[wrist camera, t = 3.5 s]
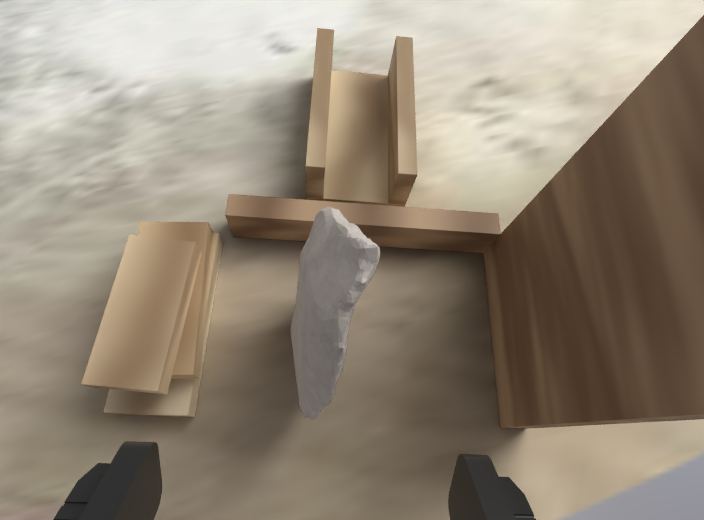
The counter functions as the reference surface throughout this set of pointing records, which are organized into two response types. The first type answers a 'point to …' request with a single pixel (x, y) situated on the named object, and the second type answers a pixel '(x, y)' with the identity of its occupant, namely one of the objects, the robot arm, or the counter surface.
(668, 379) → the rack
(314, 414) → the stone tool
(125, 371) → the offcut stack
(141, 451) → the robot arm
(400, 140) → the holder
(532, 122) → the counter surface
